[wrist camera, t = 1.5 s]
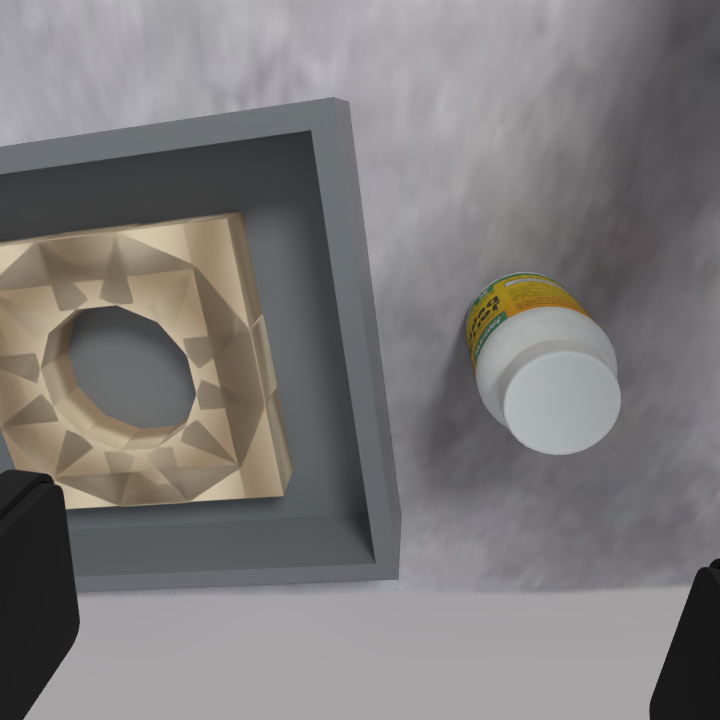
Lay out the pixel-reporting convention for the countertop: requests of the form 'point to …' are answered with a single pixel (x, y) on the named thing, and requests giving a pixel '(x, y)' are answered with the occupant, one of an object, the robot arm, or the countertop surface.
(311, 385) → the open box
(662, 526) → the countertop surface
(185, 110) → the countertop surface
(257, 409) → the bore plate
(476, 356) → the supplement bottle
